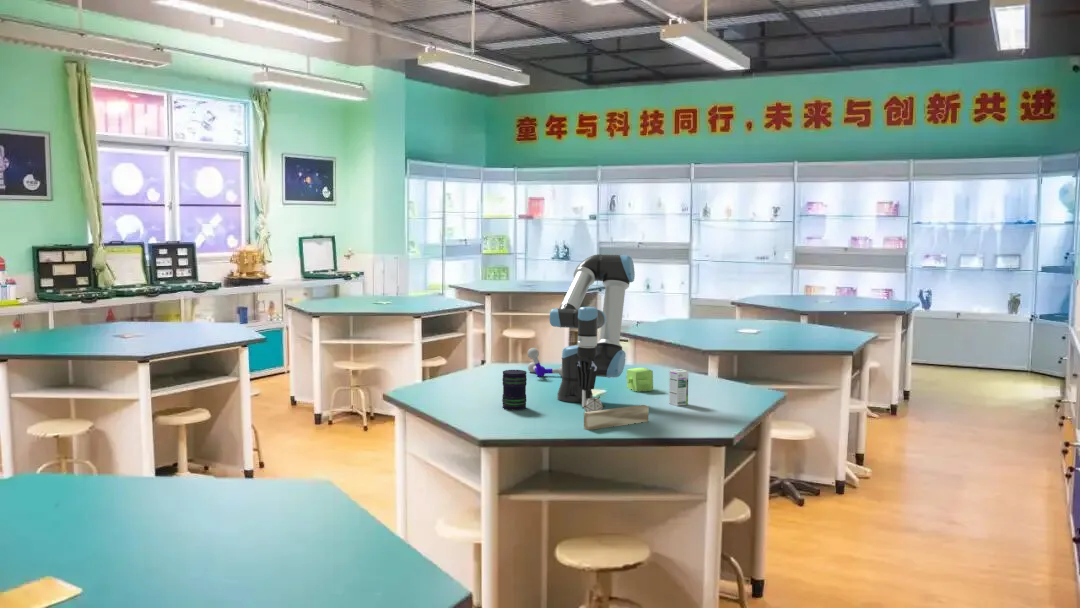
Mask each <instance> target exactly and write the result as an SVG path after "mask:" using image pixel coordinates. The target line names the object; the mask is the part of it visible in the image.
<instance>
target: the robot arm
mask: <svg viewBox="0 0 1080 608" xmlns="http://www.w3.org/2000/svg"><path fill="white" fill-rule="evenodd" d="M635 273H636V272H635V265H634V259H633V258H632V256H630V255H628V254H627V255H626V254H600V253H599V254H593V255H591V256H589V257H587V258H585V259H584V260H583V261H581V262H580V263H579V264H578V265H577V266H576V268H575V270H574V272H573V279H572V281H571V284H570V285H569V288H568V290H567V292H566V293H565V296H564V298H563V300H562V302H561V304H560V306H559V307H557V308H552V309H550V312H549V324H550V325H551V326H552V327H556V328H560V329H561V328H566V329H577V345H576V344H574V345H568V346H565V347H564V348H563V349H562V351H561V354H562V355H561V366H562V376H561V382H560V386H559V389H558V392H557V397H556V398H557V400H559V401H561V402H568V403H581V406H582V407H584V406H585V403H586V401H587V398H586V397H588V398H594V397H593V396H594V394H593V390H594V389H595V385H596V379H597V377H600V378H609V379H610V378H619V377H620V376H621V375H622V373H624V369H625V365H626V357H627V356H626V352H625V350H623V346H622V345H621V343H620V338H621V330H622V321H623V312H624V305H625V304H624V303H625V295H626V290H627V289H628V288H630V283H634V281H635V276H636V275H635ZM595 282H602V285H603V287H604V288H605V291H604V298H603V306H602V310H601V309H598V308H597V307H594V306H581V305H582V303H583V300H584V298H585V296H586V295H587V292H588V290H589V288H590V286H592V285H593V284H594V283H595ZM598 329H600V331H599V333H600V334H599V340H598Z"/></svg>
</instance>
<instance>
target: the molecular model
mask: <svg viewBox="0 0 1080 608" xmlns="http://www.w3.org/2000/svg"><path fill="white" fill-rule="evenodd" d="M539 353H540V352H539V350H538V348H535V347H531V348H529V349H528V350H527V357H528V359H529V358H530V359H532V360H533V361H532V362H530V363H529V364H528V365H527V369H528V371H529V373H532V374H535V375H536V376H537V377H543V376H545V375H549V374H558V375H559V376H561V377H562V365H560V366H559V368H545V367H544V366H542V365H541V363H540V361H539V358H538V357H539Z"/></svg>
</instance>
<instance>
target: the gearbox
mask: <svg viewBox="0 0 1080 608" xmlns="http://www.w3.org/2000/svg"><path fill="white" fill-rule="evenodd" d="M625 376H626V388H627V389H628V388H629V390H631V389H632V390H631V391H633V390H634V391H633V392H636V391H637V392H650V391H654V372H653V370H652V369H649V368H646V367H635V368H628V369H626V375H625Z"/></svg>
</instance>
